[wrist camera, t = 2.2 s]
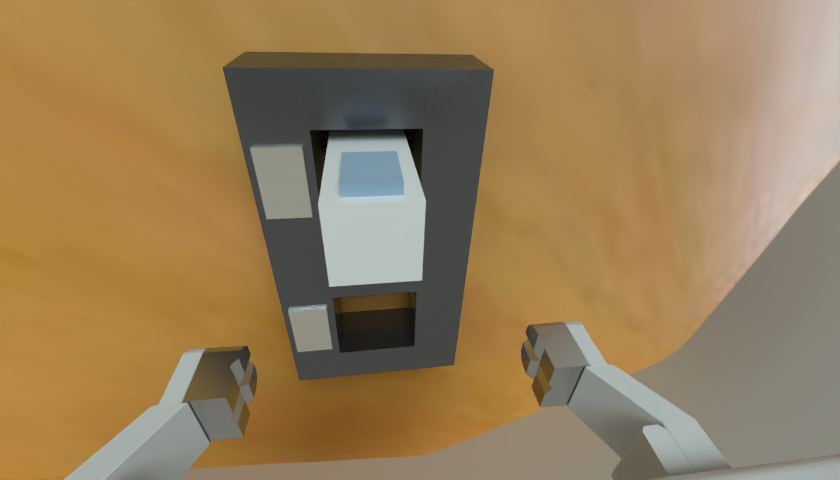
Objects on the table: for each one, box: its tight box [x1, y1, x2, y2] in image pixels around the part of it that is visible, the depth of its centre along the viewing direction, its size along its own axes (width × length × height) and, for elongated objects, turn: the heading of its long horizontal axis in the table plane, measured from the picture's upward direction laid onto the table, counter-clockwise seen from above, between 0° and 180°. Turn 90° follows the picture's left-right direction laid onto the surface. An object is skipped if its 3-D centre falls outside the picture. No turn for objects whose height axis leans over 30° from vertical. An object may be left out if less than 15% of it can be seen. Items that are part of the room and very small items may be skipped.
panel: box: [223, 52, 494, 380], centre depth 25 cm, size 12×22×4 cm, turn 178°
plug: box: [318, 129, 426, 287], centre depth 19 cm, size 4×5×10 cm
